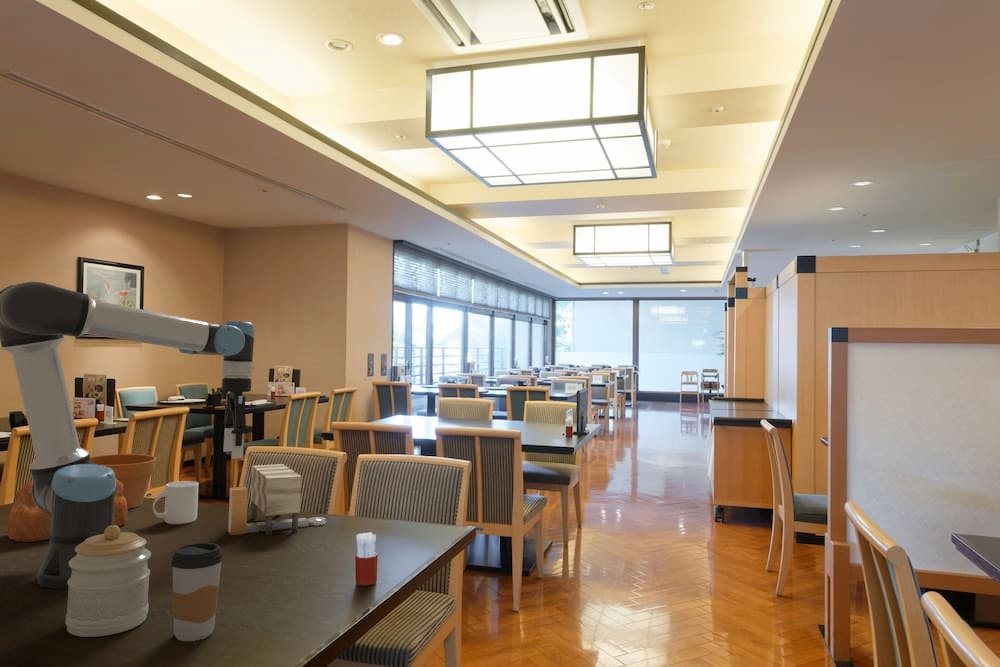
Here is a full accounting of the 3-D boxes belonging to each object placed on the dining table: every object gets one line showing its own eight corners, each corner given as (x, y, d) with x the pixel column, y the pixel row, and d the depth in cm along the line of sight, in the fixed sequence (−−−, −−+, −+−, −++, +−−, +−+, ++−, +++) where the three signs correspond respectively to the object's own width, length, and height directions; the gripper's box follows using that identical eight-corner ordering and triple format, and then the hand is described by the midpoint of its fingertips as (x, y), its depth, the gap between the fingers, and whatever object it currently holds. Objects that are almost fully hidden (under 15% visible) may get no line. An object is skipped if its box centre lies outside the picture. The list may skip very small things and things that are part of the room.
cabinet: (299, 532, 182) (301, 476, 183) (265, 536, 178) (267, 478, 178) (280, 514, 201) (282, 464, 202) (249, 517, 197) (252, 465, 197)
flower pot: (169, 502, 214) (171, 456, 214) (115, 516, 193) (118, 466, 194) (117, 496, 219) (119, 451, 220) (59, 510, 199) (62, 461, 200)
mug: (147, 522, 189) (148, 484, 189) (190, 515, 197) (192, 479, 197) (156, 528, 182) (158, 489, 183) (201, 521, 191) (203, 484, 191)
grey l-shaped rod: (308, 526, 189) (310, 484, 189) (230, 535, 178) (232, 490, 178) (304, 523, 192) (306, 482, 193) (228, 531, 181) (230, 487, 182)
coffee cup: (205, 620, 122) (209, 539, 122) (228, 634, 116) (232, 548, 117) (159, 634, 115) (163, 548, 116) (181, 649, 110) (185, 558, 110)
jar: (161, 610, 126) (165, 517, 127) (124, 639, 113) (129, 536, 114) (92, 609, 126) (96, 516, 126) (47, 638, 113) (53, 534, 113)
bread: (132, 525, 185) (134, 470, 185) (21, 546, 164) (24, 483, 164) (109, 517, 193) (112, 464, 194) (1, 535, 172) (4, 476, 172)
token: (328, 525, 192) (328, 519, 192) (311, 527, 189) (312, 522, 189) (321, 521, 196) (321, 516, 196) (305, 523, 193) (305, 518, 193)
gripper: (260, 379, 173) (256, 460, 172) (243, 375, 194) (239, 448, 193) (230, 378, 169) (225, 462, 168) (215, 375, 190) (211, 449, 189)
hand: (232, 454), depth 180 cm, fingers open, 13 cm apart
